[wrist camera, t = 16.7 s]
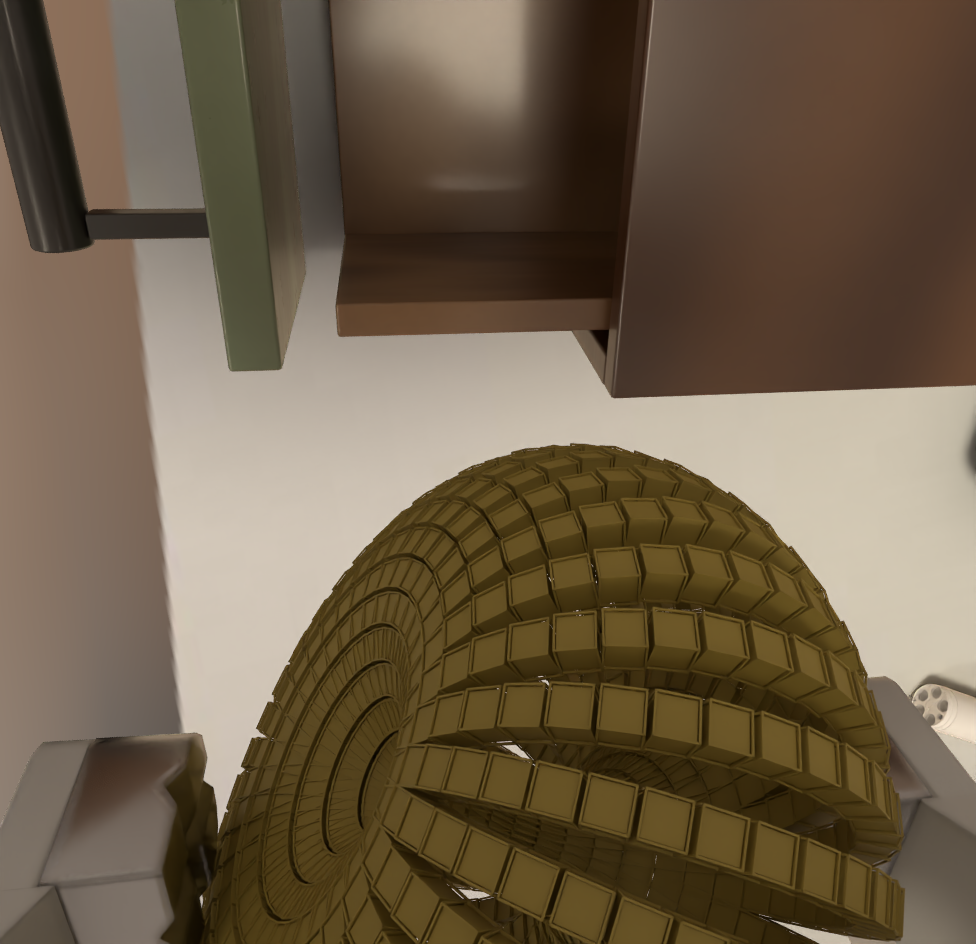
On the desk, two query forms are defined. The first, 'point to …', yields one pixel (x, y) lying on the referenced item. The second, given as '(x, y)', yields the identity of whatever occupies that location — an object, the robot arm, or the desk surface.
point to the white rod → (947, 711)
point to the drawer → (373, 162)
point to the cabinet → (795, 200)
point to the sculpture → (566, 731)
